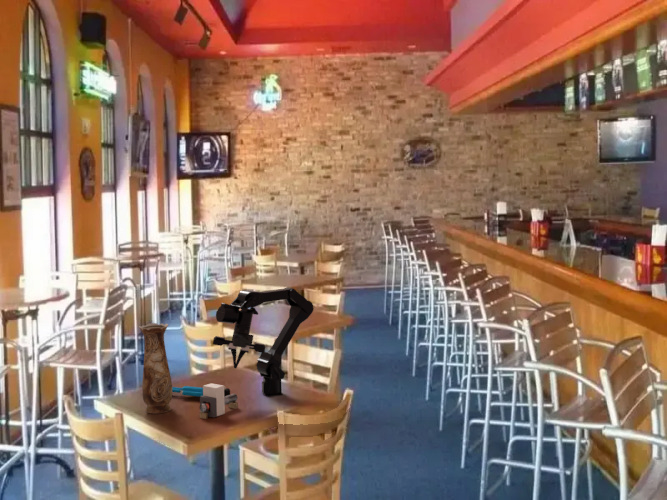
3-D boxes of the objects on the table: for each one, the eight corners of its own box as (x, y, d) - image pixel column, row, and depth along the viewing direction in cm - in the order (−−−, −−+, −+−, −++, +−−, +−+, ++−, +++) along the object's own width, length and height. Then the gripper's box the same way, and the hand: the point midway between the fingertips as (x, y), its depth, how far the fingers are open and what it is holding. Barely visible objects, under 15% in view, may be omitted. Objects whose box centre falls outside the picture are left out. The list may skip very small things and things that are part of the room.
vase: (164, 415, 275) (161, 328, 273) (136, 413, 278) (133, 327, 276) (178, 407, 285) (175, 323, 283) (150, 405, 288) (148, 322, 286)
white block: (211, 410, 279) (211, 383, 278) (224, 413, 276) (224, 385, 275) (203, 413, 276) (202, 385, 275) (216, 416, 272) (215, 388, 271)
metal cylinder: (231, 406, 285) (231, 392, 285) (237, 407, 283) (237, 394, 283) (199, 417, 272) (199, 403, 272) (206, 419, 270) (205, 404, 270)
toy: (152, 397, 299) (224, 404, 289) (152, 382, 299) (224, 389, 288) (163, 392, 306) (234, 399, 296) (163, 378, 306) (234, 384, 296)
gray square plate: (203, 413, 276) (202, 395, 275) (216, 416, 272) (216, 398, 272) (200, 414, 275) (199, 396, 274) (213, 417, 271) (213, 399, 270)
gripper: (216, 322, 282) (208, 366, 281) (269, 330, 284) (261, 374, 283) (217, 320, 293) (209, 363, 292) (268, 329, 295) (260, 371, 294)
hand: (235, 368), depth 290 cm, fingers closed
